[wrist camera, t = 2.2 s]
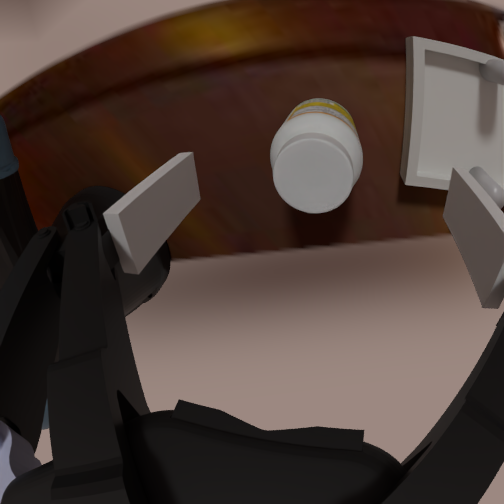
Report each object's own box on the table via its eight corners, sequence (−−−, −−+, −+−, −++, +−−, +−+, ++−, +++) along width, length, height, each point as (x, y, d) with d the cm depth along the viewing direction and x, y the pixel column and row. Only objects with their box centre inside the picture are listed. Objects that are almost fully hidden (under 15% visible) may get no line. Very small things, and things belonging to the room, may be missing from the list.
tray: (399, 173, 22) (413, 203, 18) (405, 38, 16) (425, 33, 12) (523, 193, 19) (550, 223, 15) (540, 77, 13) (576, 88, 9)
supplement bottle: (317, 83, 20) (309, 99, 12) (369, 132, 21) (391, 180, 13) (271, 132, 23) (237, 178, 15) (322, 176, 24) (315, 243, 17)
